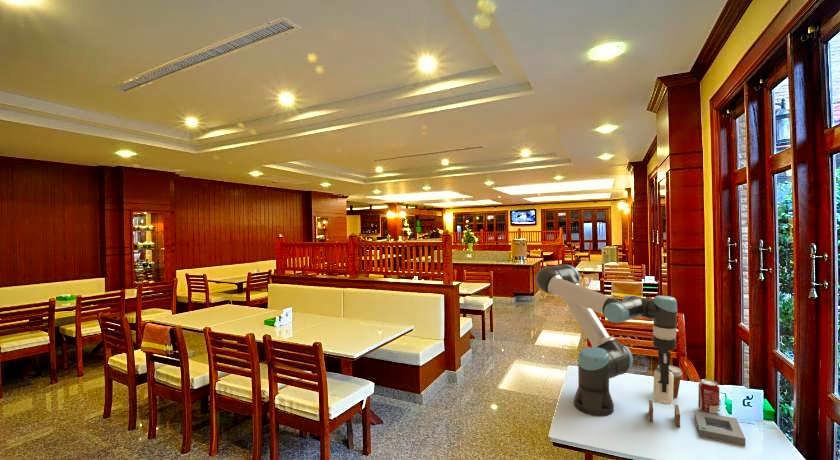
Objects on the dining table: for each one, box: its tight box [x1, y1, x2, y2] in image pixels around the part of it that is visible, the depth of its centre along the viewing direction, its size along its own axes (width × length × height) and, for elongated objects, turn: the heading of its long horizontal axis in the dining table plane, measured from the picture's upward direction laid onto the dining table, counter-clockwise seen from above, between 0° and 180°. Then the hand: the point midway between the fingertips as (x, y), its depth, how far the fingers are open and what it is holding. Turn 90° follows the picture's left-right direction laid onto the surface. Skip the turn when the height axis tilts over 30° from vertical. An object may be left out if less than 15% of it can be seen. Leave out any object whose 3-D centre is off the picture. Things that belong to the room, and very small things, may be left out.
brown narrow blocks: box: [648, 399, 681, 429], centre depth 155 cm, size 10×8×5 cm
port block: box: [693, 410, 746, 447], centre depth 147 cm, size 13×15×3 cm
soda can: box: [697, 378, 720, 415], centre depth 161 cm, size 7×7×12 cm
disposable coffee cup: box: [657, 364, 683, 400], centre depth 175 cm, size 10×10×12 cm
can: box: [653, 366, 674, 405], centre depth 155 cm, size 6×6×12 cm
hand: (663, 395), depth 155 cm, fingers closed on can, 6 cm apart
